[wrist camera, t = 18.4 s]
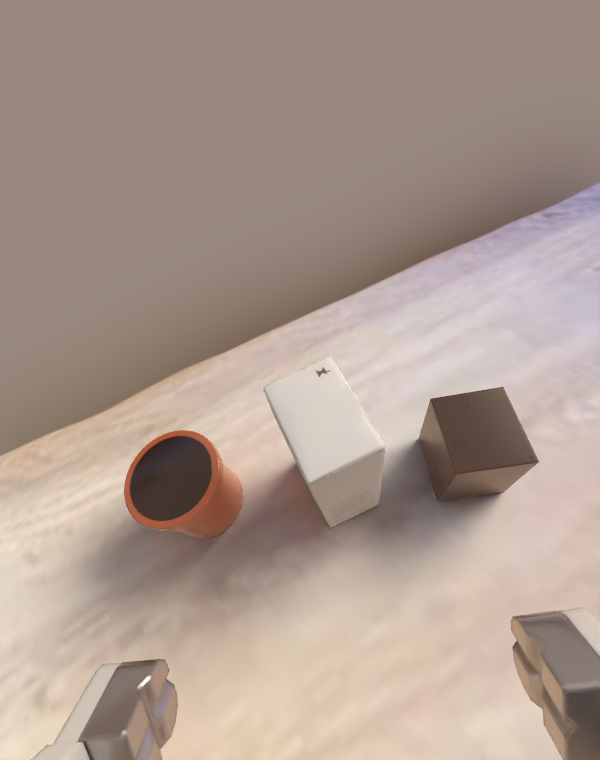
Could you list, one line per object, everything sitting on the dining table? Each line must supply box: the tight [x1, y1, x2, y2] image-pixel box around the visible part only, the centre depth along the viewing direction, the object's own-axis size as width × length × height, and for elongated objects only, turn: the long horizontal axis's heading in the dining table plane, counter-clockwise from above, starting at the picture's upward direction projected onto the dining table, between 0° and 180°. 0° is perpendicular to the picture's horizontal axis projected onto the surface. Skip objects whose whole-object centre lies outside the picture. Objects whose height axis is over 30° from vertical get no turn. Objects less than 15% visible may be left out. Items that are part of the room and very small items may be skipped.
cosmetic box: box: [264, 356, 385, 528], centre depth 23 cm, size 6×4×12 cm
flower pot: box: [124, 430, 243, 539], centre depth 26 cm, size 6×6×7 cm
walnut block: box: [419, 387, 539, 501], centre depth 25 cm, size 5×5×6 cm
